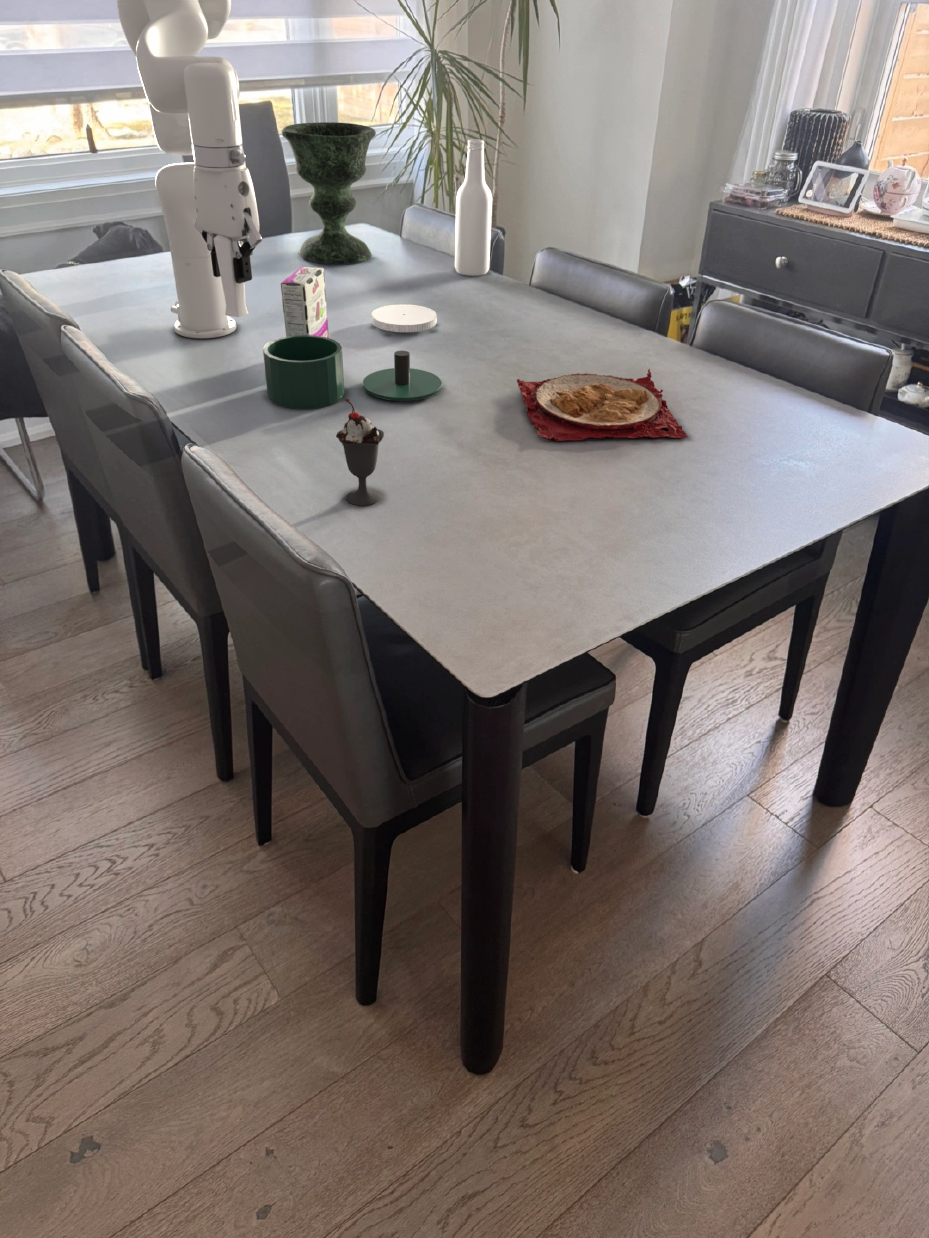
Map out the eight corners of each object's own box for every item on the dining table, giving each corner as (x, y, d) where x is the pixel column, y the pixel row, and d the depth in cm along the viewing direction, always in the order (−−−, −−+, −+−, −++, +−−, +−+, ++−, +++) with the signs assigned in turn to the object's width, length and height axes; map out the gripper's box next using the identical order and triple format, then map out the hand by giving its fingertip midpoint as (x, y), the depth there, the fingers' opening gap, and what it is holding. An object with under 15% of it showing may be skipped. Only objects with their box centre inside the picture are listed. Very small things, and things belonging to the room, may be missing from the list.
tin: (254, 402, 163) (248, 355, 158) (290, 375, 173) (286, 331, 168) (323, 414, 159) (320, 366, 154) (356, 386, 170) (354, 341, 165)
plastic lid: (398, 341, 190) (398, 329, 188) (358, 323, 198) (358, 312, 197) (449, 328, 198) (450, 316, 196) (409, 311, 206) (409, 300, 204)
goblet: (342, 273, 229) (335, 139, 212) (274, 257, 239) (263, 128, 221) (394, 255, 244) (392, 128, 227) (329, 241, 254) (322, 119, 236)
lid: (349, 396, 166) (347, 360, 162) (381, 369, 177) (381, 335, 173) (424, 409, 162) (424, 372, 158) (452, 380, 173) (453, 346, 169)
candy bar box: (306, 349, 185) (300, 265, 175) (330, 352, 184) (325, 267, 174) (287, 369, 176) (279, 281, 166) (311, 372, 175) (305, 284, 165)
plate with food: (515, 388, 172) (516, 371, 170) (649, 383, 174) (651, 365, 172) (538, 445, 153) (539, 426, 151) (687, 438, 155) (691, 419, 153)
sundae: (340, 487, 138) (335, 392, 129) (385, 487, 138) (382, 392, 129) (339, 509, 132) (333, 411, 124) (385, 508, 133) (383, 411, 124)
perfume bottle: (255, 311, 156) (246, 217, 147) (242, 318, 153) (231, 223, 144) (232, 307, 157) (221, 214, 149) (218, 314, 154) (206, 220, 145)
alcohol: (457, 265, 238) (460, 136, 220) (491, 268, 237) (496, 138, 219) (452, 275, 231) (454, 142, 213) (486, 277, 230) (492, 144, 212)
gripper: (275, 161, 140) (286, 283, 151) (200, 147, 147) (214, 264, 158) (239, 168, 135) (252, 294, 146) (162, 153, 142) (180, 273, 153)
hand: (232, 277), depth 152 cm, fingers closed on perfume bottle, 4 cm apart
